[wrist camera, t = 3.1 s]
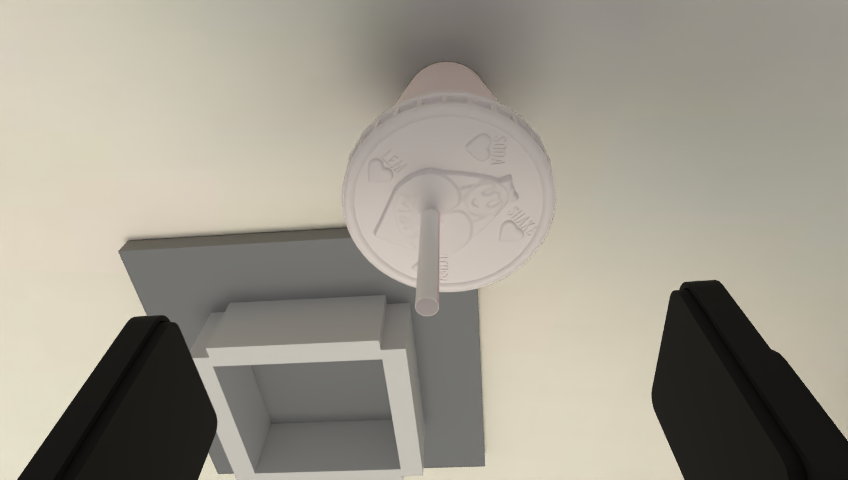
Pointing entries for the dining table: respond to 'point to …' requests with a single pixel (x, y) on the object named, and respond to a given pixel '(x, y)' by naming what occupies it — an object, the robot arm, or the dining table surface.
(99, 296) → the dining table surface
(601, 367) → the dining table surface
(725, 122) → the dining table surface
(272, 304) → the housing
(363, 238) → the smoothie
